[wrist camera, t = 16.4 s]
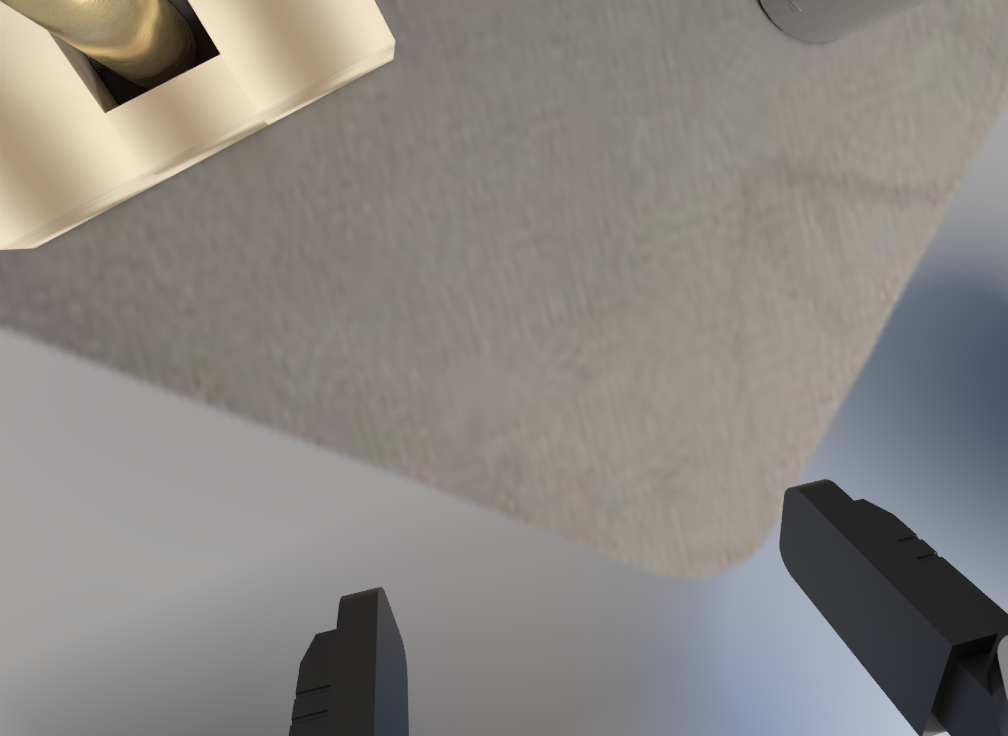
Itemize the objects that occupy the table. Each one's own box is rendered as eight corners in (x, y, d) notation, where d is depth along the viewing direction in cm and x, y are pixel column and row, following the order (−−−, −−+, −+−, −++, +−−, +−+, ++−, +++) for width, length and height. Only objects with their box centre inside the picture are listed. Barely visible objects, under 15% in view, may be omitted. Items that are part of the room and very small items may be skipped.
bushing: (161, -19, 27) (42, -159, 17) (214, 66, 28) (130, -21, 18) (83, 20, 26) (-84, -101, 17) (139, 104, 28) (14, 37, 18)
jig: (268, -181, 26) (255, -231, 23) (393, 59, 29) (395, 41, 27) (-146, 19, 25) (-214, -9, 22) (34, 248, 28) (-5, 249, 25)
